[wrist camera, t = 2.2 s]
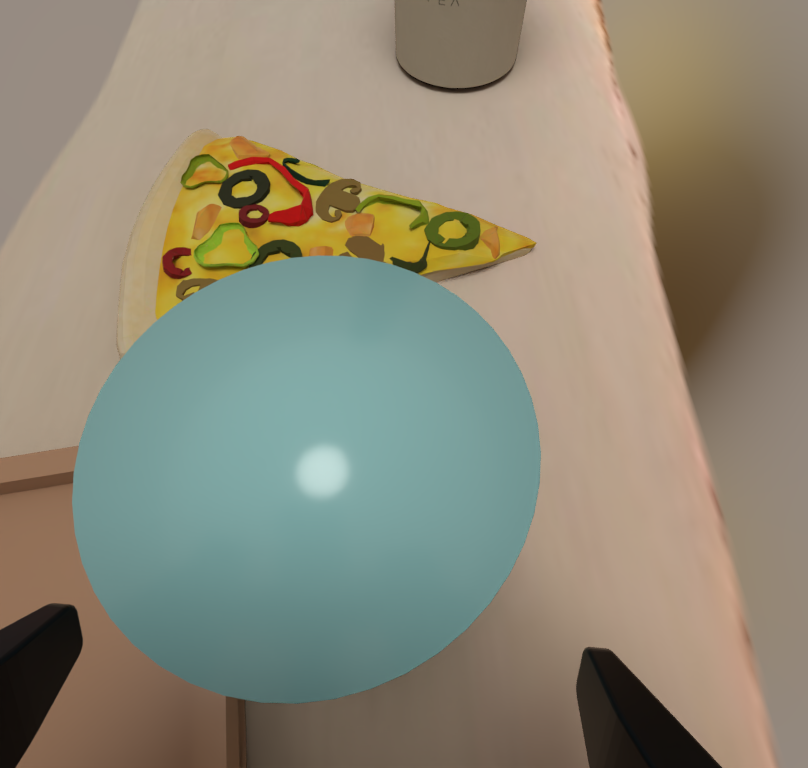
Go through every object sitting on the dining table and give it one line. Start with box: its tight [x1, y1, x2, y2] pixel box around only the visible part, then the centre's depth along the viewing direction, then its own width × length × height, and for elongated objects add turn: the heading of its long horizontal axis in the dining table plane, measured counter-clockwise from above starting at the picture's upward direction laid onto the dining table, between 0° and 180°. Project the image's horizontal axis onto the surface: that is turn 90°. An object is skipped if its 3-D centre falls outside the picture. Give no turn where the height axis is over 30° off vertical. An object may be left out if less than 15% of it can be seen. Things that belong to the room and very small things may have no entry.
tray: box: [0, 446, 247, 768], centre depth 17 cm, size 14×12×2 cm
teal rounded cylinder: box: [72, 256, 541, 704], centre depth 13 cm, size 6×6×14 cm
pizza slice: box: [116, 129, 536, 360], centre depth 26 cm, size 16×21×3 cm
